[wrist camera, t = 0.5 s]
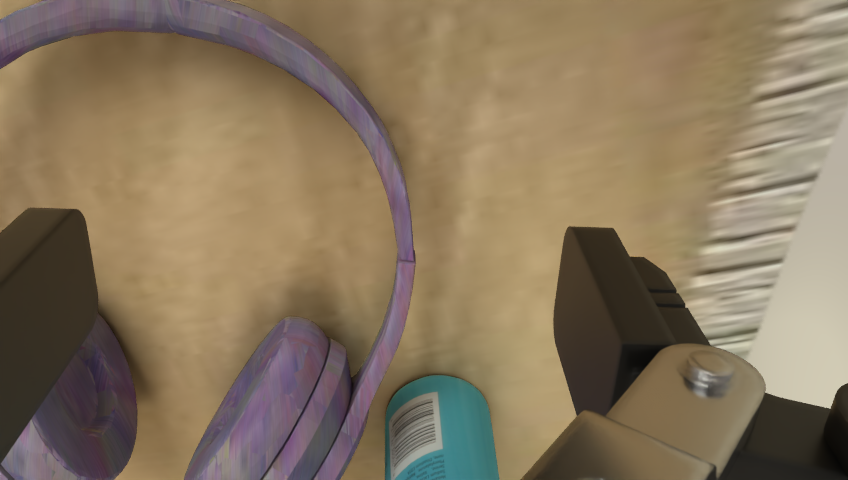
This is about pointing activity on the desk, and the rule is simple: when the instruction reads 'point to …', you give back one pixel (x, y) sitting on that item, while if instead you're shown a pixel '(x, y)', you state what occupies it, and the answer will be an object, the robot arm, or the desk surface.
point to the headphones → (284, 345)
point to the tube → (439, 432)
